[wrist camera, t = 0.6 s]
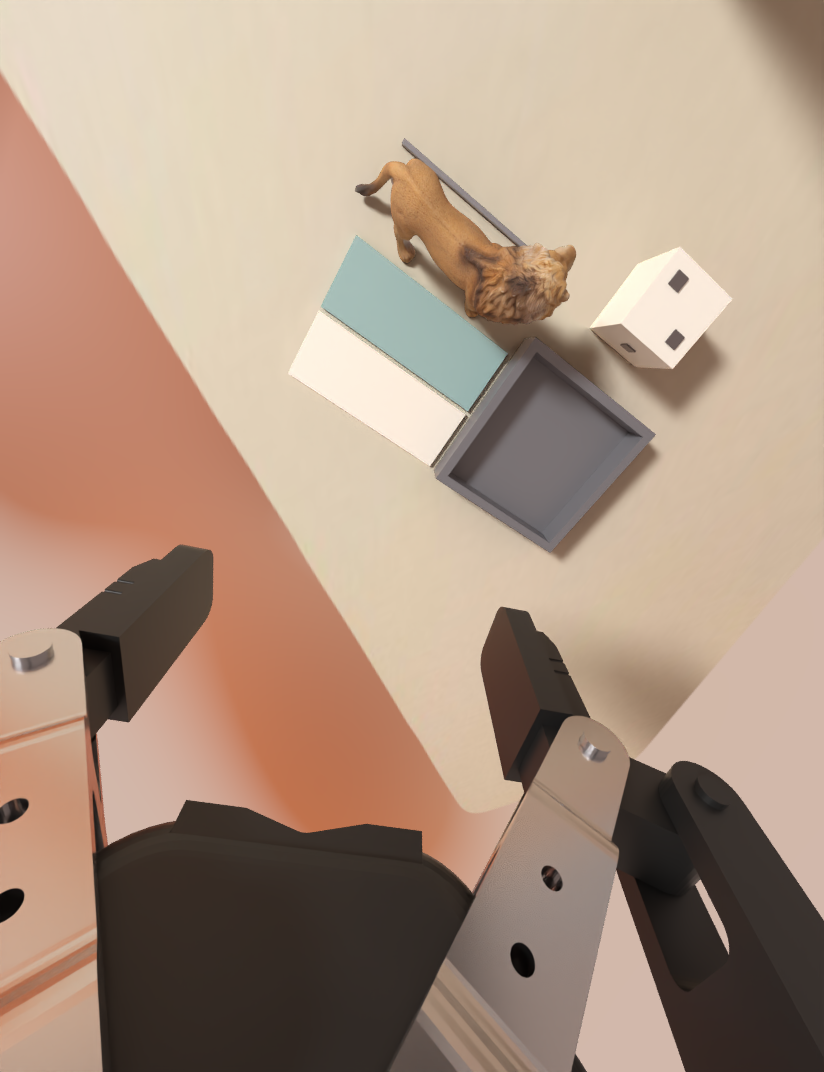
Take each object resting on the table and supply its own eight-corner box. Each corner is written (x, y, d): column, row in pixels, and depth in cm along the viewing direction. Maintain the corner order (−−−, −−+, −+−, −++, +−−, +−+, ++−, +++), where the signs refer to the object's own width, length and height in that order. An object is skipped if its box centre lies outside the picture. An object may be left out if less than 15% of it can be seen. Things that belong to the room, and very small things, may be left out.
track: (404, 140, 26) (404, 137, 26) (560, 276, 29) (561, 275, 29) (288, 373, 32) (287, 373, 31) (429, 465, 35) (429, 466, 35)
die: (637, 263, 29) (681, 246, 24) (684, 308, 30) (734, 299, 26) (588, 329, 31) (620, 324, 26) (634, 368, 32) (673, 371, 27)
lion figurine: (552, 277, 29) (608, 248, 21) (510, 348, 31) (547, 345, 23) (373, 149, 26) (358, 55, 18) (339, 235, 28) (311, 186, 20)
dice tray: (525, 338, 31) (535, 336, 28) (637, 428, 34) (655, 434, 31) (433, 469, 35) (435, 478, 33) (540, 539, 38) (550, 552, 35)
